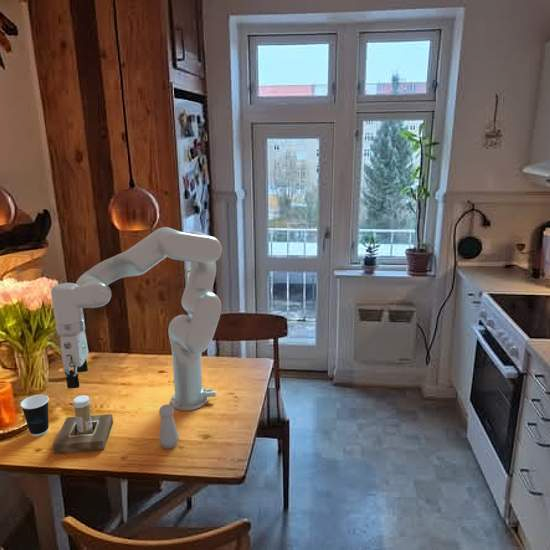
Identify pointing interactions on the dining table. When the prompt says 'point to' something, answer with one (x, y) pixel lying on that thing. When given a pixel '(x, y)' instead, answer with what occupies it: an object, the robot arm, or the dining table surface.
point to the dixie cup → (36, 414)
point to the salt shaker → (167, 427)
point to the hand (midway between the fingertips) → (78, 379)
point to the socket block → (83, 443)
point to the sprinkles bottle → (83, 415)
